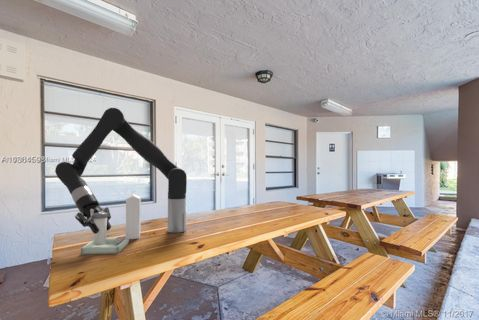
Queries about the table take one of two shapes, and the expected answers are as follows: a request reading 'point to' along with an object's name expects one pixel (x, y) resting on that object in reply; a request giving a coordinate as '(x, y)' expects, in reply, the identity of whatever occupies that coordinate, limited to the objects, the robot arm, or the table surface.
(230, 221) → the table surface
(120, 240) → the ball
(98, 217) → the shaker
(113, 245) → the tray
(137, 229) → the milk
